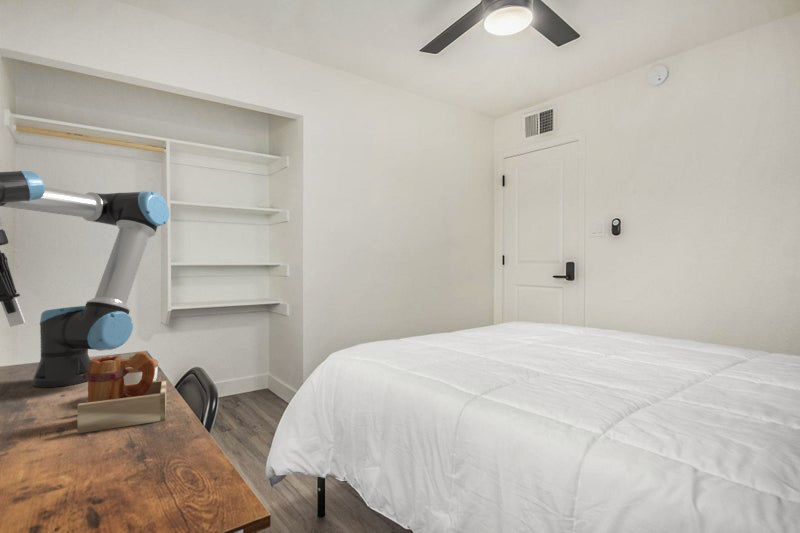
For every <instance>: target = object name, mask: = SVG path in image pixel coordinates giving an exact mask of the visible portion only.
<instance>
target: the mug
mask: <svg viewBox="0 0 800 533" xmlns="http://www.w3.org/2000/svg"><path fill="white" fill-rule="evenodd" d="M131 356H132V357H131V358H129V357H128V358H123V359H122V357H120V356H118V355H117V356H112V357H110V356H106V357H101V358H99V357H98V358H92V359H90V361H89V371H88V372H87V373H86V374H84V375H83V377H82V378H83V379H86V382H88V384H87V403H89V402H97V401H105V400H113V399H120V398H128V397H127V396H125V393H126V394H128V395H131V396H133V397H136V396H143V395H144V394H145V393H146V392H147V391H148V389H149V388H150V387H151V385H152V382H153V379H154V375H155V365H154V362H153V360H152V359H153V358H152V357H151V356H149V355H148V353H146V352H144V351H139V352H136V353H135V354H134V355H131ZM127 367H132V368H134V369H137V370H139V371H142V378H141V380H140V382H139V383H138V384H137V385H134V386H130V385H125V384H124V376H125V375H126V374H127V373H128V372H129V371H128V370H127V369H126V368H127Z"/></svg>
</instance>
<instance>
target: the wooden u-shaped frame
mask: <svg viewBox="0 0 800 533" xmlns="http://www.w3.org/2000/svg"><path fill="white" fill-rule="evenodd" d="M138 383H139V382H138ZM138 383H130V384H125V385H130V386H134V385H137V384H138ZM125 396H127V397H128V398H120V399H113V400H105V401H97V402H89V403H88V402H82V403H78V404H77V434H83V433H90V432H95V431H96V432H97V431H103V430H109V429H117V428H122V427H128V426H135V425H141V424H142V425H143V424H150V423H156V422H161V421H165V420H166V411H167V379H158V380H157V379H156V381H153V382H152V385H151V387H150V388H149V389H148V391H147V392H146V393H145V394H144V395H143V396H136V397H133V396H131V395H128V394H126V393H125Z"/></svg>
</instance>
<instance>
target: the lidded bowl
mask: <svg viewBox="0 0 800 533" xmlns="http://www.w3.org/2000/svg"><path fill="white" fill-rule="evenodd" d="M132 356H133V355H130V356H129V357H128V358H131V357H132ZM151 359H152V360H153V362H154V365H155V375H154V379H153V381H156V380H157V378H158V372H159V371H158V368H159V367H158V366H159V361H158V359H155V358H151ZM126 369H127V370H128V371H129V372H128V373H127V374H126V375H125V376H124V384H130V383H138V382H140V380H141V378H142V371H139V370H137V369H134V368H132V367H127V368H126Z"/></svg>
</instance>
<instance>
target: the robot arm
mask: <svg viewBox="0 0 800 533" xmlns="http://www.w3.org/2000/svg"><path fill="white" fill-rule="evenodd" d="M44 182H45V181H44V180H43V179H42V178H41V176H40V175H39V174H38V173H37V172H34V171H25V170H24V171H23V170H15V171H14V170H13V171H1V172H0V207H2V208H10V209H16V210H17V209H19V210H26V211H31V212H32V211H33V212H41V213H49V214H56V215H64V216H72V217H78V218H82V219H84V220H85V221H86V222H94V223H100V224H105V225H111V226H115V227H116V226H117V228H118V233H117V236H116V239H115V241H114V244H113V246H112V249H111V252H110V255H109V257H108V260H107V262H106V266H105V268H104V271H103V274H102V276H101V278H100V282H99V285H98V288H97V290H96V293H95V295H94V298H92V299H90V300H88V301H86V302H85V303H86V304H85V305H79V306H69V307H61V308H54V309H53V308H51V309H46V310H44V311H43V312H41V314H40V322H39V325H40V328H39V329H40V330H39V332H40V333H39V334H40V359H39V362H38V365H37V367H36V370H35V373H34V375H33V377H32V378H33V379H32V385H33V387H36V388H57V387H65V386H66V387H67V386H72V385H76V384H81V383H85V382H87V381H86V379H83V378H82V377H83V375H84V374H86V373H87V372H88V371H89V361H90V360H91V358H90V356H89V350H95V351H99V352H101V351H109V350H110V351H111V350H115V349H118V348H119V347H121V346H123V345H124V344H125V343H126V342H127V341H128V340H129V339H130V337H131V335H132V333H133V330H134V323H133V319H132V317H131V315H130V308H129V307H128V305H127V303H128V300H129V296H130V294H131V290H132V288H133V286H134V282H135V279H136V276H137V273H138V270H139V268H140V267H139V266H140V265H141V262H142V258H143V255H144V253H145V249H146V246H147V242H148V240H149V238H151V237H154V236H155V235H156V232H157V230H158V227H161V226H163V225H165V224H166V223H167V222H168V220H169V217H170V208H169V206H168V204H167V201H166V199H165V198H164V197H163V196H162V195H160V194H159V193H157V192H155V191H146V190H141V191H135V192H133V191H132V192H116V193H115V192H113V193H97V192H87V193H80V192H74V191H70V190H64V189H59V188H53V187H47V186H45V183H44ZM3 226H4V224H3V222H2V220H1V218H0V246H3V245H4V246H5V245H8V244H9V239H8V237H7V234H6V231H5V230H4V229H3V228H1V227H3ZM20 296H21V295H20V293H17V290H16V286H15V284H14V279H13V276H12V273H11V269H10V266H9V262H8V257H7V256H6V254H5V253H4V252H2V251H1V250H0V303H1V307H2V309H3V311H4V315H5V317H6V320H7V322H8V325H9V326H10V327H14V326H19V325H23V324H25V323H26V319H25V317H24V315H23V312H22V310H21V306H20V304H19V300H18V297H20Z"/></svg>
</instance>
